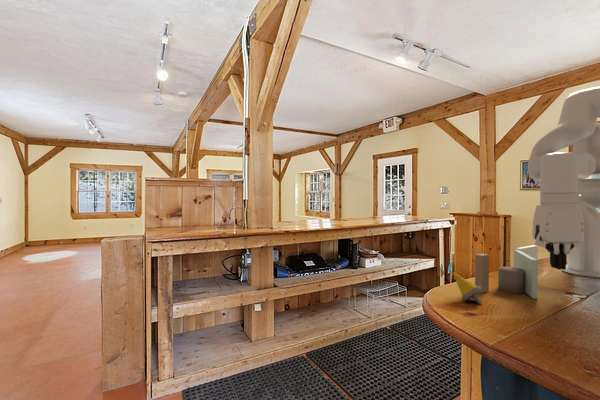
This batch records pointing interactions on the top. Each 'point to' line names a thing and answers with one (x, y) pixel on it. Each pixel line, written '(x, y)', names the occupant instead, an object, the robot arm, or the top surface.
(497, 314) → the top surface
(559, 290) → the top surface
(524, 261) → the door
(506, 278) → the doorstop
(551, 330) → the top surface
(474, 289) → the drill bit
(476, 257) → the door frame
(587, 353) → the top surface
